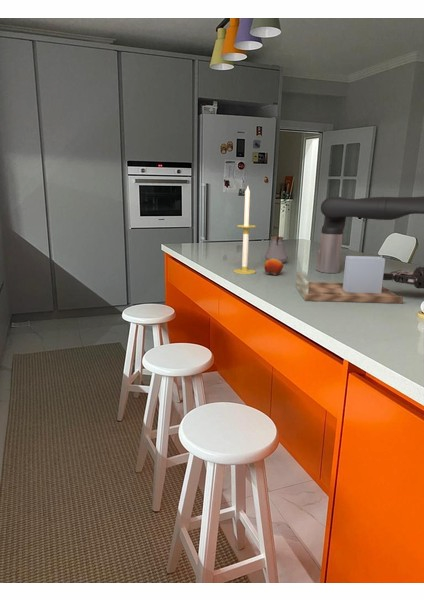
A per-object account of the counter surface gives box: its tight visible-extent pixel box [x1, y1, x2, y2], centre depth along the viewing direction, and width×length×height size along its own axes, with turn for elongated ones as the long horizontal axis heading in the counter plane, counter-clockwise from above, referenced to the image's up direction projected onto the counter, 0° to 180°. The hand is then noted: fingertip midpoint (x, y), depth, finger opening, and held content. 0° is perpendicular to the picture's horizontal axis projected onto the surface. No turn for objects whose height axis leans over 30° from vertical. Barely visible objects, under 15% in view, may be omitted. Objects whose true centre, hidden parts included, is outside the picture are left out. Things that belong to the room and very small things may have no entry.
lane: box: [295, 271, 404, 305], centre depth 149 cm, size 32×20×6 cm, turn 88°
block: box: [342, 255, 386, 293], centre depth 148 cm, size 12×5×12 cm, turn 88°
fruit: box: [264, 259, 284, 276], centre depth 183 cm, size 8×8×8 cm
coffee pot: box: [264, 235, 288, 265], centre depth 206 cm, size 21×12×15 cm, turn 172°
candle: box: [232, 185, 257, 275], centre depth 183 cm, size 10×10×38 cm
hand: (380, 276), depth 148 cm, fingers closed
